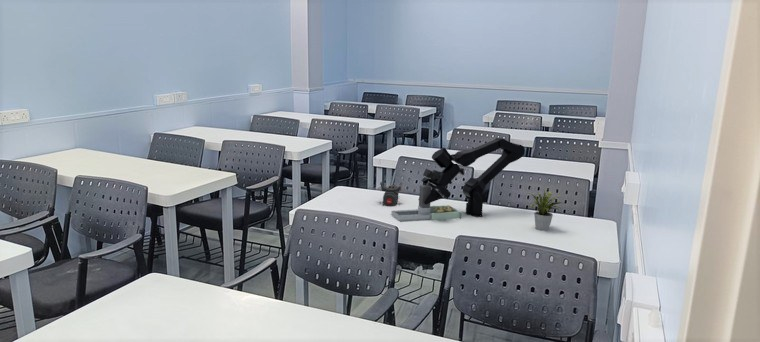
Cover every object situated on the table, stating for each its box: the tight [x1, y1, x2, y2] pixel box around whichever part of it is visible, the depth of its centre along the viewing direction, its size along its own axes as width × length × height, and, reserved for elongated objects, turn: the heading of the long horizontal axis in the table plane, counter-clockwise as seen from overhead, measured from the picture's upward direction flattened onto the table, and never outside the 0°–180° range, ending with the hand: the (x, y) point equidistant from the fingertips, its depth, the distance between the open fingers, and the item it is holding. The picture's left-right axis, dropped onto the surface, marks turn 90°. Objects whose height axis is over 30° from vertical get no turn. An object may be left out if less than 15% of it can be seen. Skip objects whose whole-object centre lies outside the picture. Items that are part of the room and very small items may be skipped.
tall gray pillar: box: [417, 184, 431, 214], centre depth 225 cm, size 4×4×13 cm
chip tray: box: [430, 204, 462, 221], centre depth 228 cm, size 13×12×3 cm
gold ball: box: [444, 205, 454, 212], centre depth 229 cm, size 4×4×4 cm
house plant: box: [527, 188, 563, 231], centre depth 213 cm, size 14×14×16 cm
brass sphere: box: [435, 207, 444, 213], centre depth 227 cm, size 4×4×4 cm
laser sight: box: [379, 181, 403, 207], centre depth 251 cm, size 10×22×10 cm, turn 174°
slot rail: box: [390, 208, 458, 223], centre depth 226 cm, size 27×12×2 cm, turn 108°
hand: (421, 202), depth 225 cm, fingers open, 6 cm apart
